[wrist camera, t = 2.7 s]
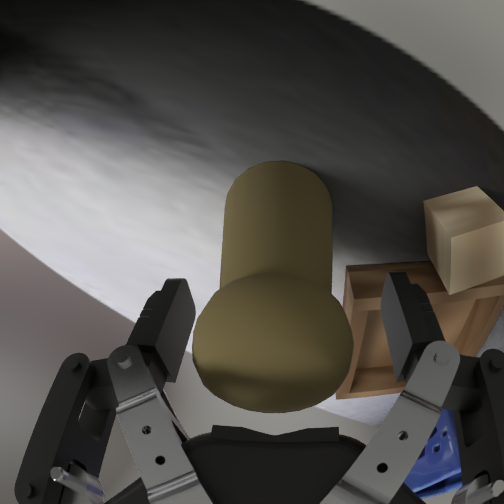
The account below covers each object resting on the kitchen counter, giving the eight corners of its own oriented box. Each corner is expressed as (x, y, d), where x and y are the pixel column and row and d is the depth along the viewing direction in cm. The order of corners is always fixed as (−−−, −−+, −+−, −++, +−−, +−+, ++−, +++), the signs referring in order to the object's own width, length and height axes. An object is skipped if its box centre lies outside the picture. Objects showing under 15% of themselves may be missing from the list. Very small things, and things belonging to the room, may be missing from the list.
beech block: (426, 253, 18) (449, 295, 15) (422, 200, 16) (451, 237, 13) (476, 238, 17) (503, 275, 14) (476, 185, 15) (510, 218, 12)
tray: (333, 371, 26) (336, 399, 23) (346, 265, 19) (354, 298, 17) (450, 356, 24) (459, 381, 22) (496, 256, 17) (514, 282, 15)
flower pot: (364, 421, 33) (370, 507, 23) (436, 364, 25) (462, 473, 15) (433, 423, 34) (445, 494, 24) (499, 373, 26) (524, 454, 17)
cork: (340, 166, 15) (407, 334, 6) (323, 259, 19) (342, 432, 10) (224, 157, 16) (147, 315, 7) (225, 251, 19) (183, 420, 10)
